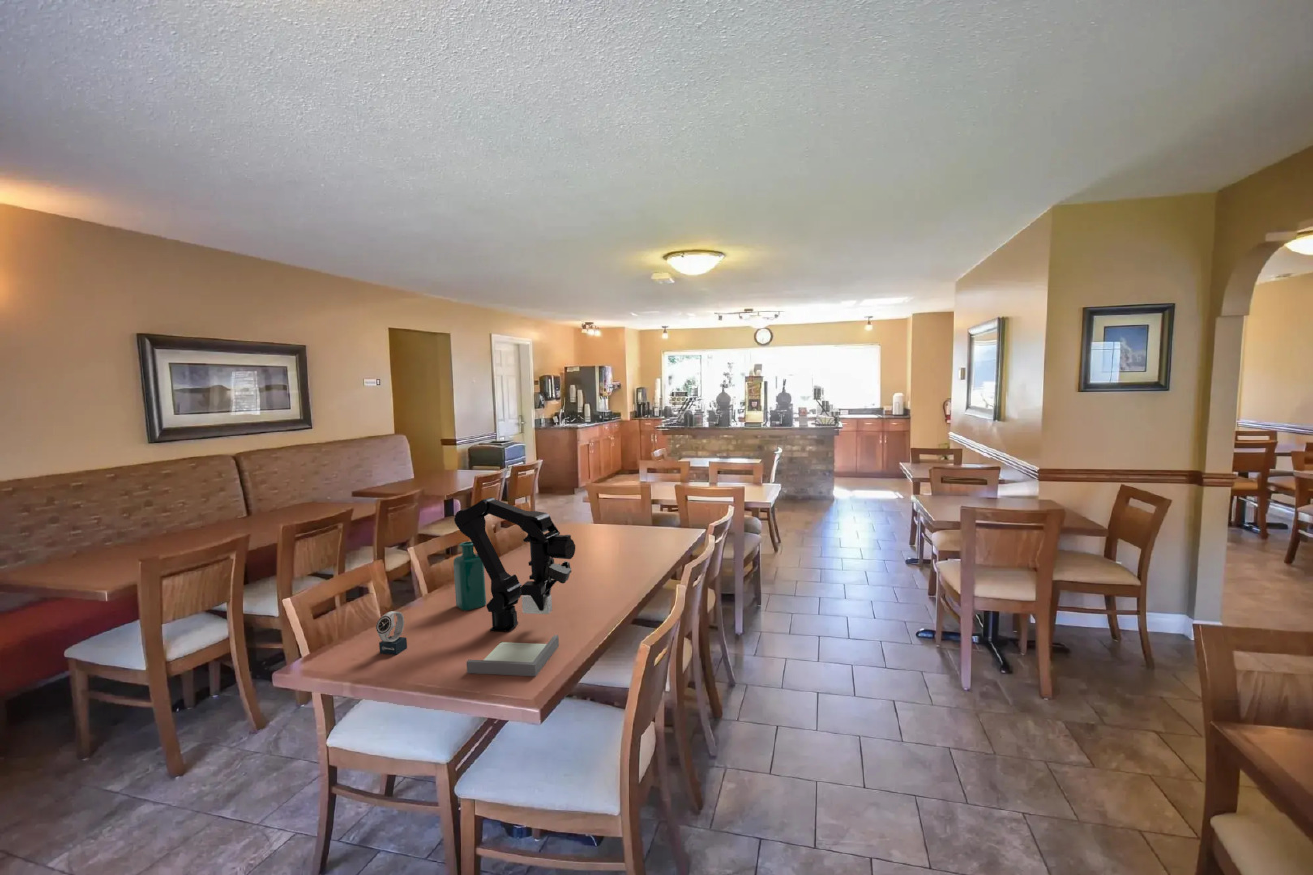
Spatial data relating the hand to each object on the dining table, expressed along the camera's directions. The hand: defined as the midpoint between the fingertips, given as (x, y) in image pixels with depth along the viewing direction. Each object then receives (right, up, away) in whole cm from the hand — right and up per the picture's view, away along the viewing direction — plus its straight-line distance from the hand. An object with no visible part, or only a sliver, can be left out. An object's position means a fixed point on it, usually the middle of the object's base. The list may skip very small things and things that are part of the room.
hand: (543, 608), depth 167 cm
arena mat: (-4, -9, -15) cm, 18 cm away
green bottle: (-29, -7, +26) cm, 39 cm away
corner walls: (-4, -9, -15) cm, 18 cm away
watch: (-41, -10, -8) cm, 43 cm away
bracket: (-1, -1, +3) cm, 3 cm away
